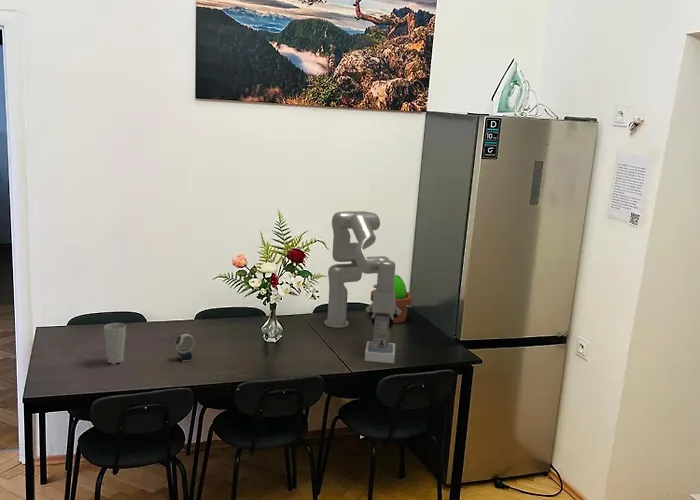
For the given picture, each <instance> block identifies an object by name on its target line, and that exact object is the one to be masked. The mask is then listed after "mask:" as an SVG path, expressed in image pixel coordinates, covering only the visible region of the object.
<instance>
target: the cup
mask: <svg viewBox="0 0 700 500" xmlns="http://www.w3.org/2000/svg"><path fill="white" fill-rule="evenodd" d="M126 328H127V325H126V324H125V323H123V322H111V323H107V324H105V325H104V326H103V332H104V333H103V334H104V341H105V348H106V349H105V350H106V358H107V362H108V361H109V362H111V363H117V362H121V361H123V362H124V355H125V344H126V330H127V329H126Z"/></svg>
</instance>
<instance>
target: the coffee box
mask: <svg viewBox="0 0 700 500" xmlns="http://www.w3.org/2000/svg"><path fill="white" fill-rule="evenodd" d="M390 318H391V316H390V315H389V314H378V313H375V319H374V327H373V333H372V334H373V335H372V342H373V349H381V350H386V349H387V347H388V344H389V343H390V333H391V328H390Z"/></svg>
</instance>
